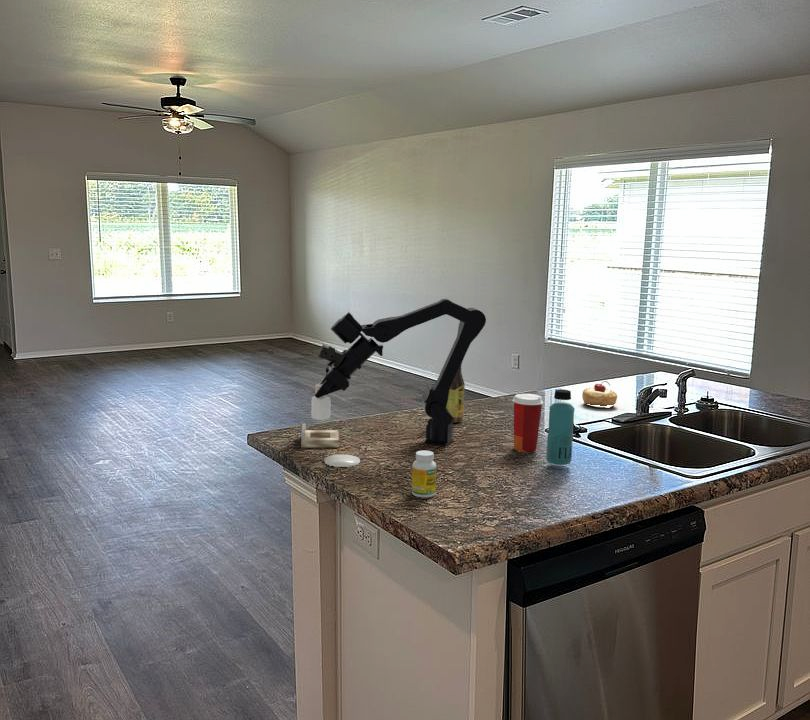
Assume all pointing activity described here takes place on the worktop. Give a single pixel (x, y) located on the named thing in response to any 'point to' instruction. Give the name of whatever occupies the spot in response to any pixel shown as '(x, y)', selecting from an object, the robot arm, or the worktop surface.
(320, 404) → the pepper shaker
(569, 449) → the beverage bottle
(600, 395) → the pastry
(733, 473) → the worktop surface
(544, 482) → the worktop surface
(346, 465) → the coaster
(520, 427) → the coffee cup
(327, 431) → the square wooden frame
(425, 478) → the supplement bottle
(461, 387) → the sauce bottle
